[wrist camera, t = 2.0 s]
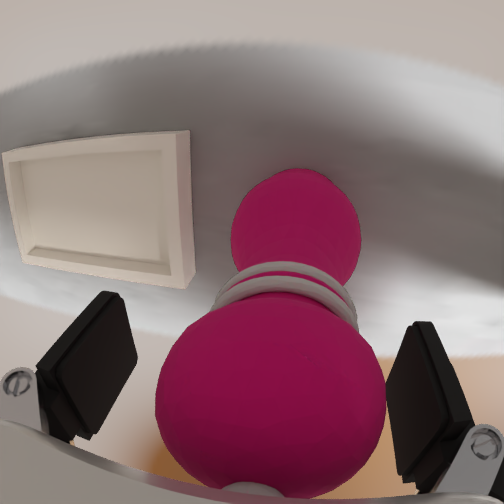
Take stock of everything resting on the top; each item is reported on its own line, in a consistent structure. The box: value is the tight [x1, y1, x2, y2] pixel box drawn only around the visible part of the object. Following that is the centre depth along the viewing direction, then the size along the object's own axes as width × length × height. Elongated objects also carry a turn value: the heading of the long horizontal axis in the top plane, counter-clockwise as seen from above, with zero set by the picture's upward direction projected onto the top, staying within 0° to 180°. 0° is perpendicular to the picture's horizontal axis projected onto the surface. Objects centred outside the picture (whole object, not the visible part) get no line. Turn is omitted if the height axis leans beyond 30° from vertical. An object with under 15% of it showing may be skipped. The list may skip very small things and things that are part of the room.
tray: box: [2, 130, 196, 289], centre depth 23 cm, size 18×11×2 cm, turn 89°
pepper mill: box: [155, 168, 386, 499], centre depth 13 cm, size 7×7×20 cm
